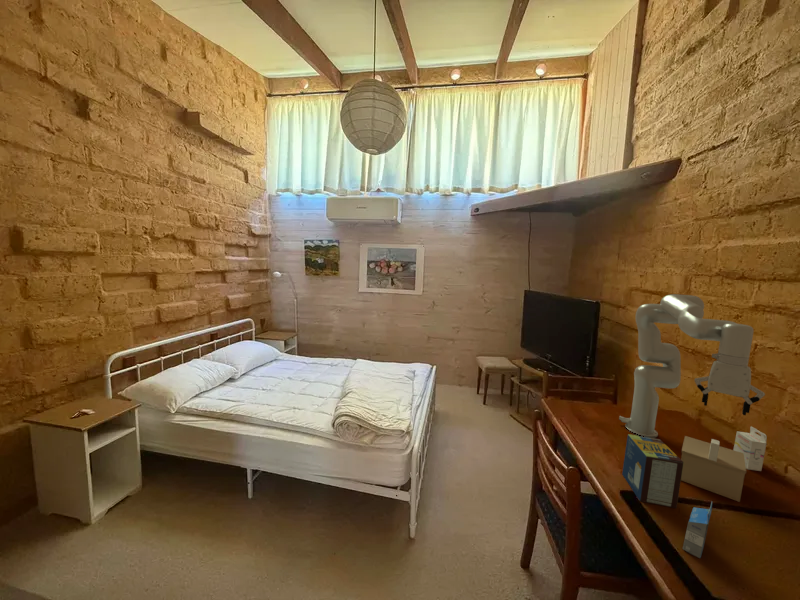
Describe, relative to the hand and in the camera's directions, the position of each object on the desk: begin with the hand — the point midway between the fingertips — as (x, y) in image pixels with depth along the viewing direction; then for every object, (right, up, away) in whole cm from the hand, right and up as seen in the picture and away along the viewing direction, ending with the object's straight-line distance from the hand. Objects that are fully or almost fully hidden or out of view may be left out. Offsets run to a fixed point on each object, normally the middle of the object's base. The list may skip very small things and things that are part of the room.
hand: (724, 409), depth 117 cm
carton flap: (+2, -18, +6) cm, 19 cm away
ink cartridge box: (+28, -29, +21) cm, 45 cm away
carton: (+1, -28, +7) cm, 29 cm away
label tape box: (-31, -29, -24) cm, 49 cm away
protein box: (-27, -27, -1) cm, 38 cm away
